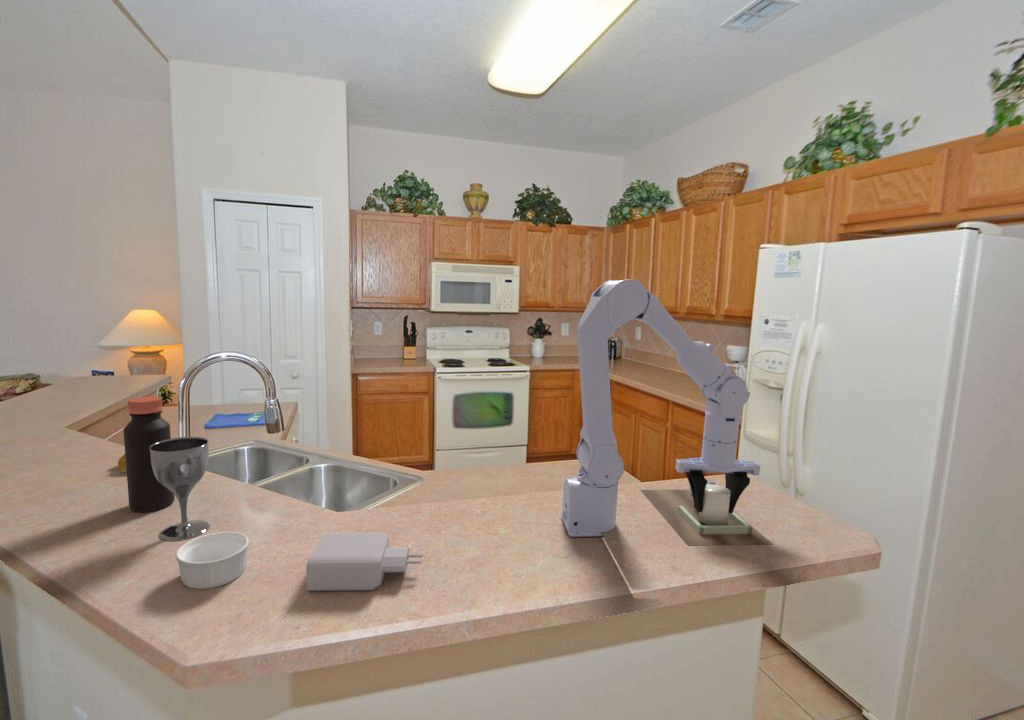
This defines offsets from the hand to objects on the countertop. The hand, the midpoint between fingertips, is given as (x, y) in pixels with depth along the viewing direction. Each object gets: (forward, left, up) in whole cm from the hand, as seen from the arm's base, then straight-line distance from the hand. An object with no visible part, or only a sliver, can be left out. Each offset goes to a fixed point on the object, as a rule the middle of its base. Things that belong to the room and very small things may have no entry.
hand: (713, 510), depth 91 cm
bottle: (-103, +10, -3) cm, 104 cm away
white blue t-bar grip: (0, +2, -2) cm, 3 cm away
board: (-1, +3, -3) cm, 4 cm away
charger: (-59, -14, -3) cm, 61 cm away
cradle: (0, 0, -2) cm, 2 cm away
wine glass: (-92, 0, -3) cm, 92 cm away
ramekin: (-81, -13, -3) cm, 82 cm away
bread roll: (-117, +30, -3) cm, 121 cm away
